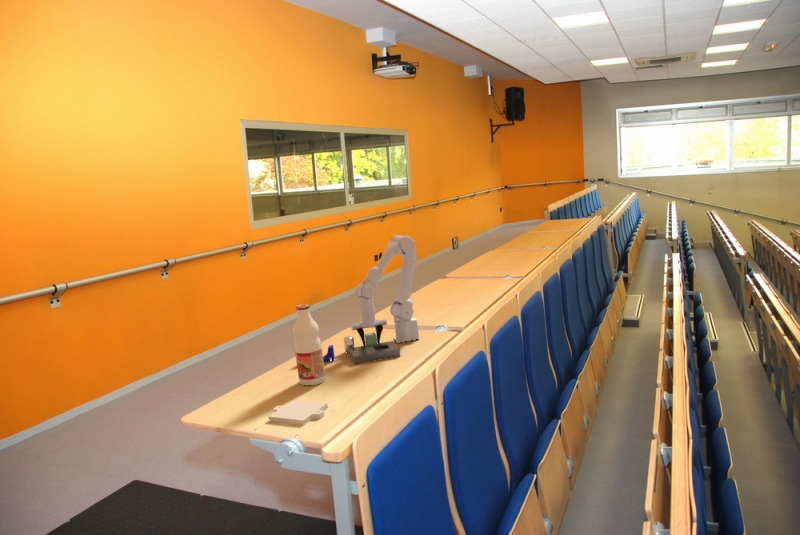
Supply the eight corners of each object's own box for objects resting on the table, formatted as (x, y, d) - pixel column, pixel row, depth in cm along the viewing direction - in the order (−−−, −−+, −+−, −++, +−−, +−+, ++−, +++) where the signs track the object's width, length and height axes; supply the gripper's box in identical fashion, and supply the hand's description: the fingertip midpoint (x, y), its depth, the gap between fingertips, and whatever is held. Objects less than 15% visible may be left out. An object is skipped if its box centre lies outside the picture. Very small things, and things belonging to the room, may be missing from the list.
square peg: (375, 346, 252) (374, 332, 251) (377, 348, 248) (376, 334, 247) (366, 347, 251) (364, 333, 250) (368, 350, 247) (366, 336, 246)
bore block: (393, 348, 246) (392, 340, 246) (400, 356, 235) (399, 348, 234) (349, 355, 243) (348, 348, 242) (354, 364, 231) (353, 356, 231)
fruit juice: (328, 382, 214) (318, 305, 209) (302, 388, 211) (291, 310, 206) (323, 375, 223) (313, 300, 218) (297, 380, 220) (287, 305, 215)
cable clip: (302, 365, 237) (300, 351, 236) (305, 362, 241) (303, 347, 240) (332, 363, 236) (331, 348, 235) (334, 359, 240) (333, 345, 239)
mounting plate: (334, 409, 190) (333, 404, 190) (311, 427, 179) (310, 421, 178) (288, 404, 198) (287, 399, 198) (262, 421, 187) (261, 415, 187)
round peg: (354, 349, 250) (352, 335, 249) (355, 352, 246) (354, 338, 245) (344, 351, 249) (343, 337, 248) (346, 354, 245) (344, 339, 244)
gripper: (351, 317, 242) (355, 349, 244) (387, 311, 245) (390, 343, 247) (349, 313, 248) (352, 345, 251) (383, 308, 252) (387, 339, 254)
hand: (371, 344), depth 249 cm, fingers open, 5 cm apart
